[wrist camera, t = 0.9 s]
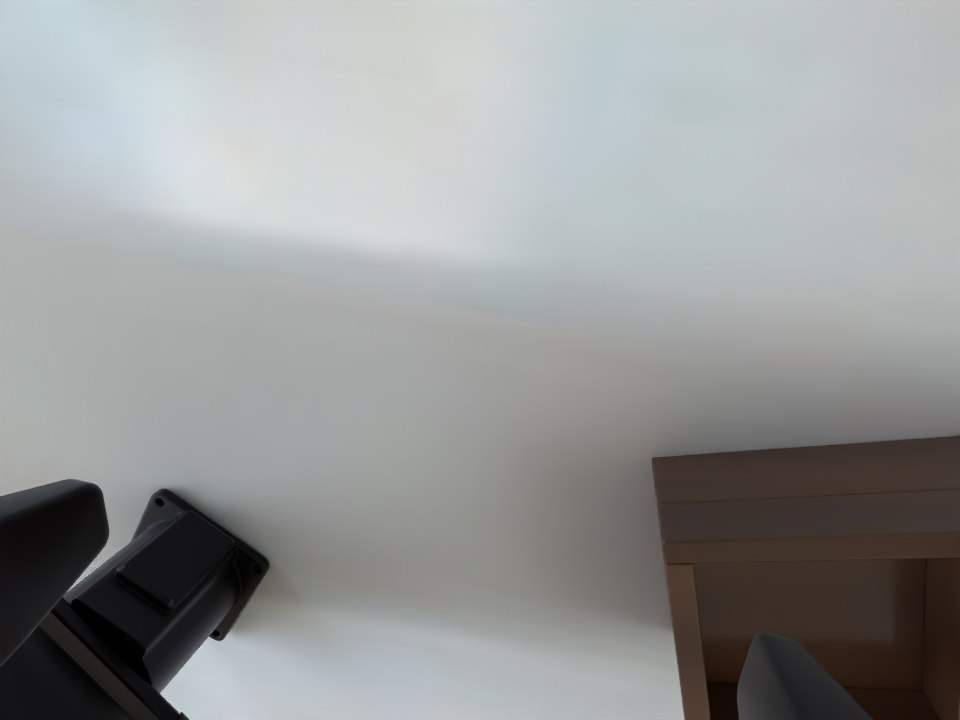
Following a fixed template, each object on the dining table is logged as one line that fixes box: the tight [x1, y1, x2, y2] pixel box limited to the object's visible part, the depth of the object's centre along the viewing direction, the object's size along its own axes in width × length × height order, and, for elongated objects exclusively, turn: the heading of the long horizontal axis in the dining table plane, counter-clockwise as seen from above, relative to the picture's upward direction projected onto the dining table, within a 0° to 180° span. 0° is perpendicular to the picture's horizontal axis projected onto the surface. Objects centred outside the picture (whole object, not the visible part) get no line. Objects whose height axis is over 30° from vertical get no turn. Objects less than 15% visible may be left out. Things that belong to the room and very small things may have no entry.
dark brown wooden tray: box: [652, 436, 960, 720], centre depth 17 cm, size 8×16×5 cm, turn 102°
